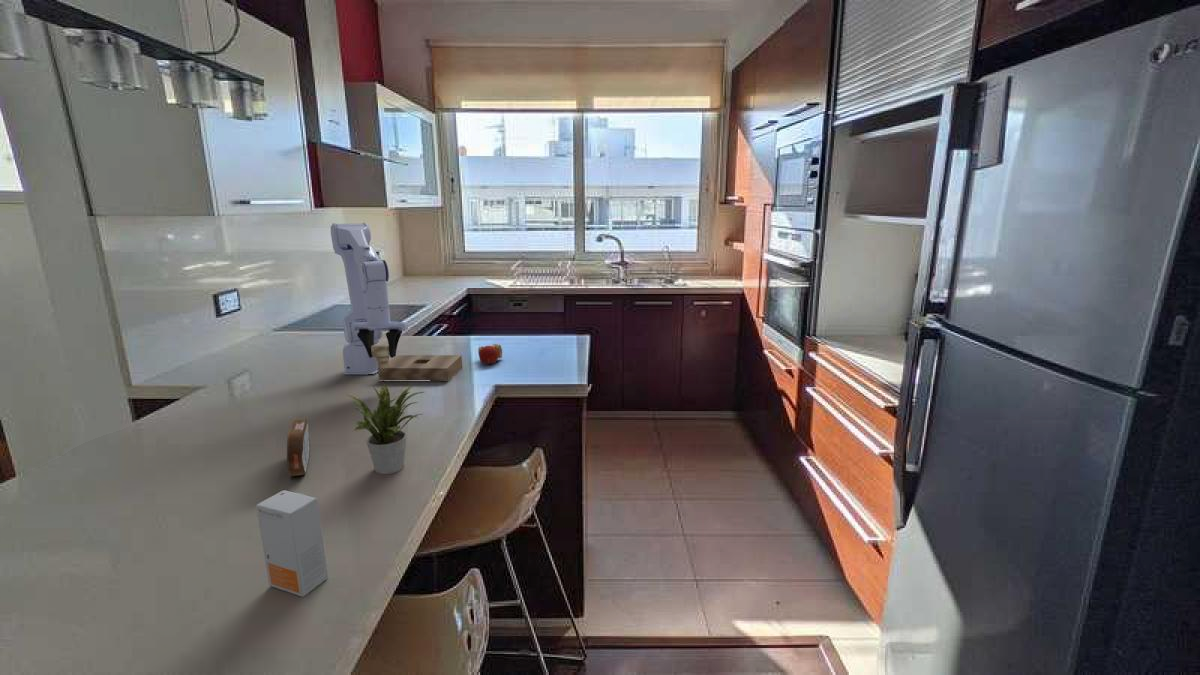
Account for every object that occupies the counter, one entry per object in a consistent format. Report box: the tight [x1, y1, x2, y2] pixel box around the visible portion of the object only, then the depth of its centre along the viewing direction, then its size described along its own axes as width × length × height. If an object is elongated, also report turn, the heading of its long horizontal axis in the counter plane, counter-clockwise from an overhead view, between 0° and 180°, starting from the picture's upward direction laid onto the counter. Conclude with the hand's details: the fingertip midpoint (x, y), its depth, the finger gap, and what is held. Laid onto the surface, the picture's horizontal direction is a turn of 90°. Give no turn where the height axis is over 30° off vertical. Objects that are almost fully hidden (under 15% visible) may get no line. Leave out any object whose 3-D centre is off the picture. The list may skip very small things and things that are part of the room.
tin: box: [286, 418, 311, 478], centre depth 104 cm, size 15×3×8 cm, turn 23°
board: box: [377, 354, 463, 382], centre depth 161 cm, size 20×14×4 cm
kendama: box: [477, 343, 503, 365], centre depth 178 cm, size 8×6×18 cm
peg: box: [371, 342, 390, 369], centre depth 146 cm, size 5×5×6 cm
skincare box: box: [255, 489, 329, 598], centre depth 70 cm, size 6×4×12 cm
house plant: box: [346, 383, 425, 475], centre depth 101 cm, size 14×14×16 cm
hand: (382, 356), depth 146 cm, fingers closed on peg, 5 cm apart
